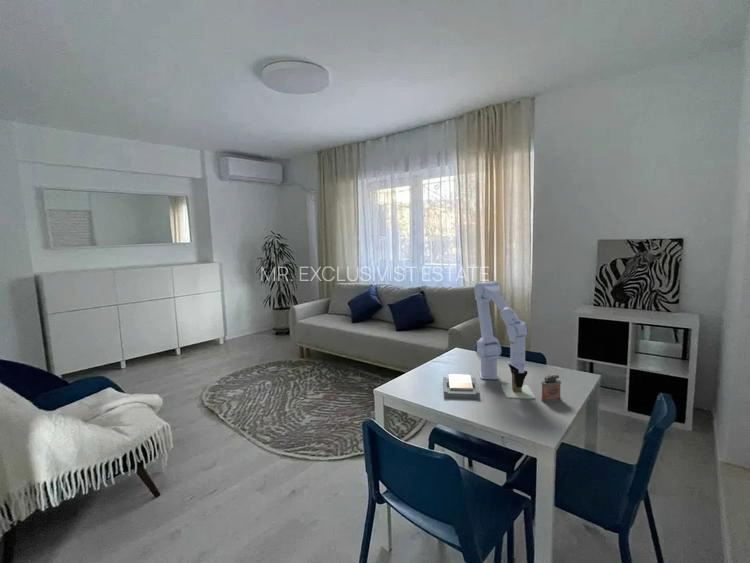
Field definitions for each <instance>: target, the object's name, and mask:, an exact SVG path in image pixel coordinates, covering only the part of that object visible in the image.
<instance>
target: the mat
mask: <svg viewBox="0 0 750 563" xmlns="http://www.w3.org/2000/svg"><path fill="white" fill-rule="evenodd" d="M500 387H501V389H502V392H503V394H504V396H505V398H506V399H519V400H521V399H524V400H536V399H537V398H536V395H534V393H533V391H532V390H531V388H530V387H529V385H528V384H523V386H522V392H513V390H512V384H500Z"/></svg>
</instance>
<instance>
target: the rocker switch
mask: <svg viewBox="0 0 750 563" xmlns="http://www.w3.org/2000/svg"><path fill="white" fill-rule="evenodd" d="M448 379H449V385H450V389H451V390H473V387H472V381H471V379H472V376H471V374H454V373H453V374H452V373H451V374H450V373H449V374H448Z"/></svg>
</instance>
